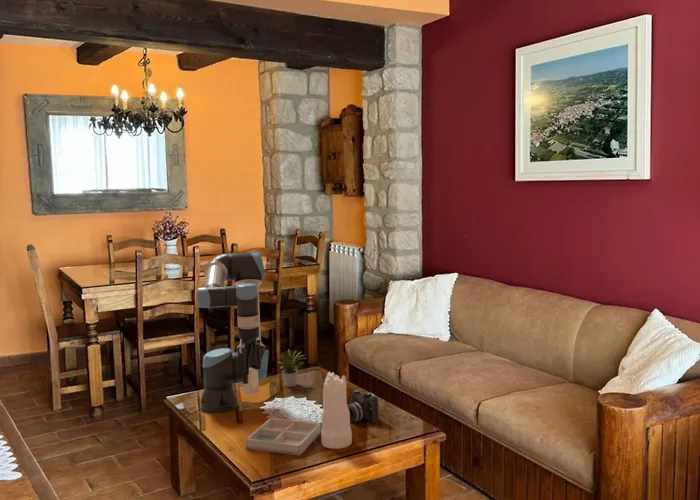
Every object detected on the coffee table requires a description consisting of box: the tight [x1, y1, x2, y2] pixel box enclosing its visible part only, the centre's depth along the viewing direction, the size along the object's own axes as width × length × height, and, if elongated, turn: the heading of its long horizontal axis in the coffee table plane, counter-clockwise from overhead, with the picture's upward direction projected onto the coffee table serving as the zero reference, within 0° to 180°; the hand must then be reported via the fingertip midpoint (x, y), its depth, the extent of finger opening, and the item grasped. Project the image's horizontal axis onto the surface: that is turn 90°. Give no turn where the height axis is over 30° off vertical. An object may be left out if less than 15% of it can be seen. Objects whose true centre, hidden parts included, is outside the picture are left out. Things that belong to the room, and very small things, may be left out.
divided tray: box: [245, 417, 322, 457], centre depth 240 cm, size 20×20×4 cm
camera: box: [347, 388, 380, 423], centre depth 259 cm, size 14×11×10 cm
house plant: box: [276, 348, 307, 388], centre depth 298 cm, size 14×14×16 cm
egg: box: [243, 368, 260, 395], centre depth 243 cm, size 6×6×9 cm
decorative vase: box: [320, 371, 353, 450], centre depth 236 cm, size 11×11×25 cm
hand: (250, 389), depth 244 cm, fingers closed on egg, 5 cm apart
